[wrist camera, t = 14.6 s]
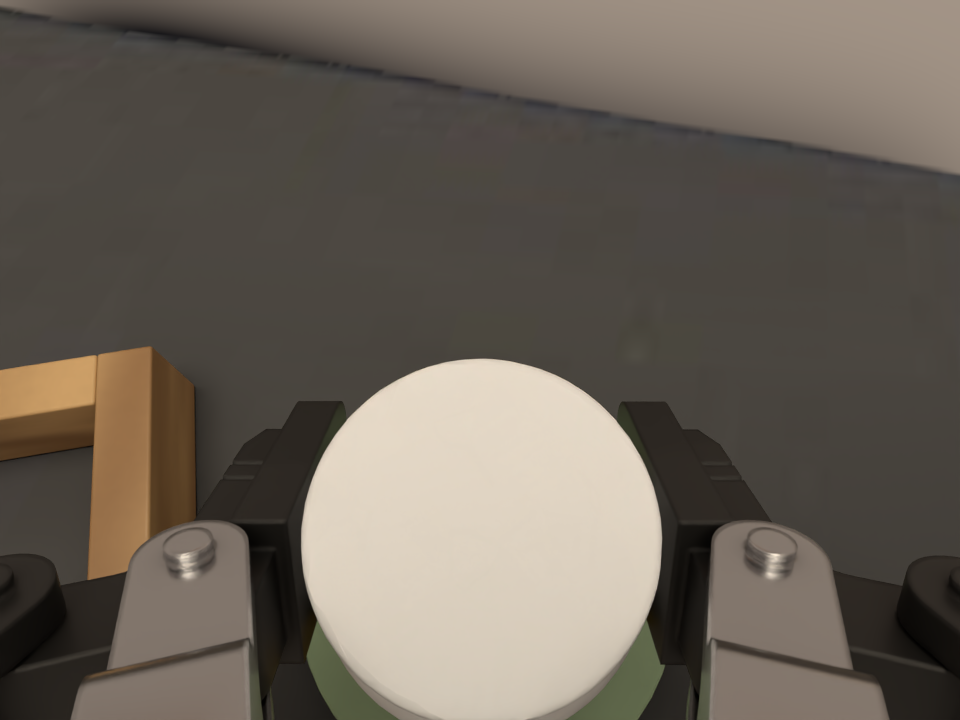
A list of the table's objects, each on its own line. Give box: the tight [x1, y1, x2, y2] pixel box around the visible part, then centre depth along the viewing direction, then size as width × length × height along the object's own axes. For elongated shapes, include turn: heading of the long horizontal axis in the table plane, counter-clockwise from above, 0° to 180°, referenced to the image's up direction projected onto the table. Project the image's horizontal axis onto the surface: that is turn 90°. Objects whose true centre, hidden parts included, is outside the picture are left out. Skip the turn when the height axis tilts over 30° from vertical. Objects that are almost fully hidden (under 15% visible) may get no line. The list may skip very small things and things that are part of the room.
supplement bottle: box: [301, 359, 662, 720], centre depth 11 cm, size 5×5×8 cm
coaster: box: [306, 620, 665, 720], centre depth 15 cm, size 8×8×1 cm
